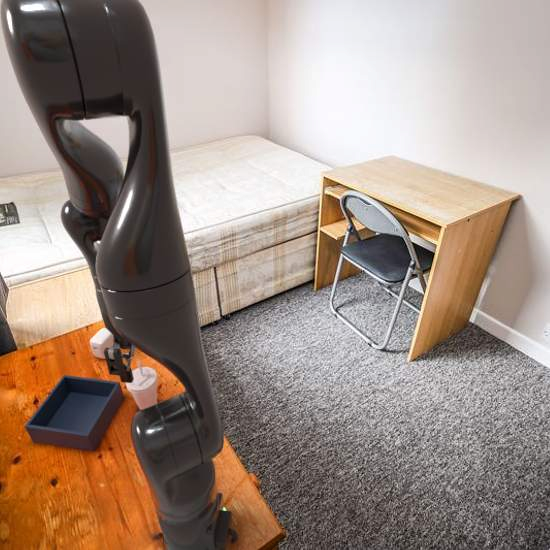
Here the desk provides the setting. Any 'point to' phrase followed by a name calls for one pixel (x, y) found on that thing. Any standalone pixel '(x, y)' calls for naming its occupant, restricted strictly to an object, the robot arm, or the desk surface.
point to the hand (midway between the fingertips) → (137, 364)
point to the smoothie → (144, 386)
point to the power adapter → (101, 342)
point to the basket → (76, 413)
